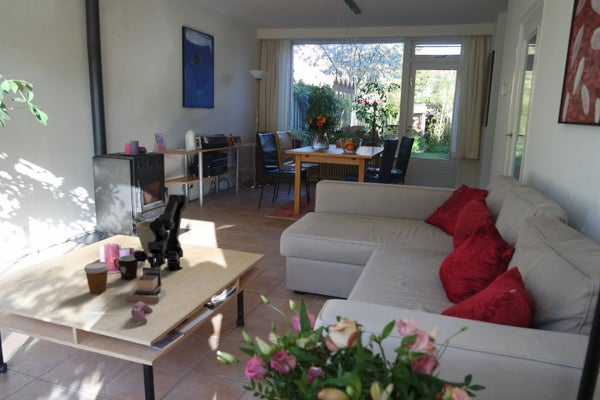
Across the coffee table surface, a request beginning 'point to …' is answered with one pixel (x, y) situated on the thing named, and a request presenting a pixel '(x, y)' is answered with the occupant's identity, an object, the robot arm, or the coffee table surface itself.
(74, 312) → the coffee table surface
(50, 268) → the coffee table surface
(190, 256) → the coffee table surface
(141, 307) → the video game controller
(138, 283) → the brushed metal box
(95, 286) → the disposable coffee cup
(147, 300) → the dock bay
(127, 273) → the coffee mug
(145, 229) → the plant pot
